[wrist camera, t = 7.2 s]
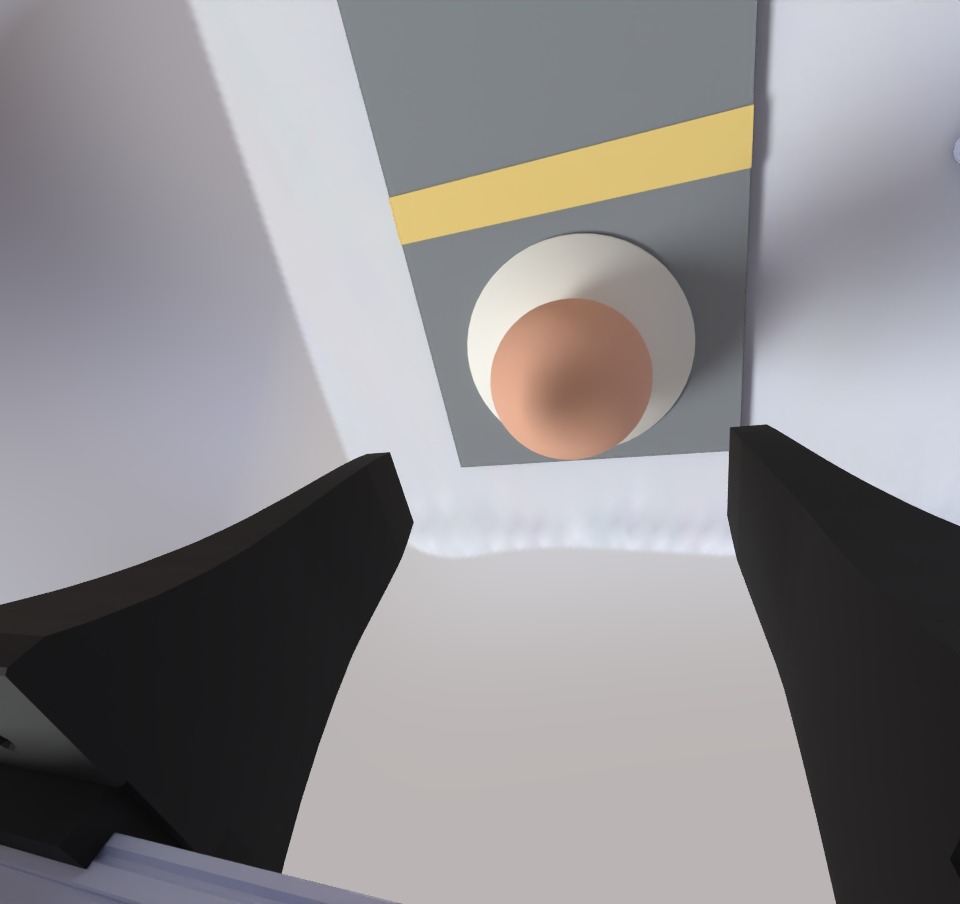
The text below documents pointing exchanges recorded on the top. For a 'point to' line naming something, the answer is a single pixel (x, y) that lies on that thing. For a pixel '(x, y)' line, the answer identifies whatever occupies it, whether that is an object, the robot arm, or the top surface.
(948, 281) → the top surface
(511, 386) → the ball
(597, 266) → the white disc
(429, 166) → the mat
